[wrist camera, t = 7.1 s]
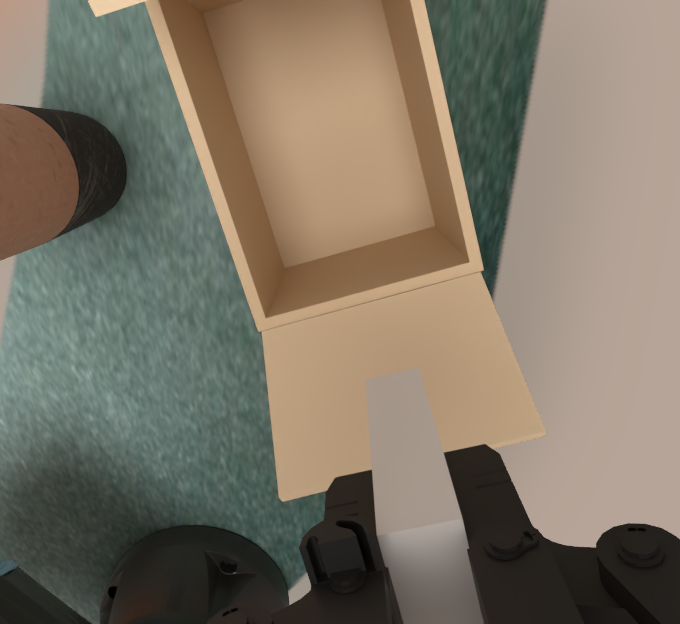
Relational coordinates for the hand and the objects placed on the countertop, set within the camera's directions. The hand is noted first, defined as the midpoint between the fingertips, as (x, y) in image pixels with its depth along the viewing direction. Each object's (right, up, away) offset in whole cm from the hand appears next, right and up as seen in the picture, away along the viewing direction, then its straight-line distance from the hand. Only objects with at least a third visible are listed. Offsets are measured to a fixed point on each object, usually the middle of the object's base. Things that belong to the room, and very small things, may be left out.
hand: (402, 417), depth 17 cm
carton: (-3, +15, +23) cm, 28 cm away
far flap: (0, 0, +12) cm, 12 cm away
